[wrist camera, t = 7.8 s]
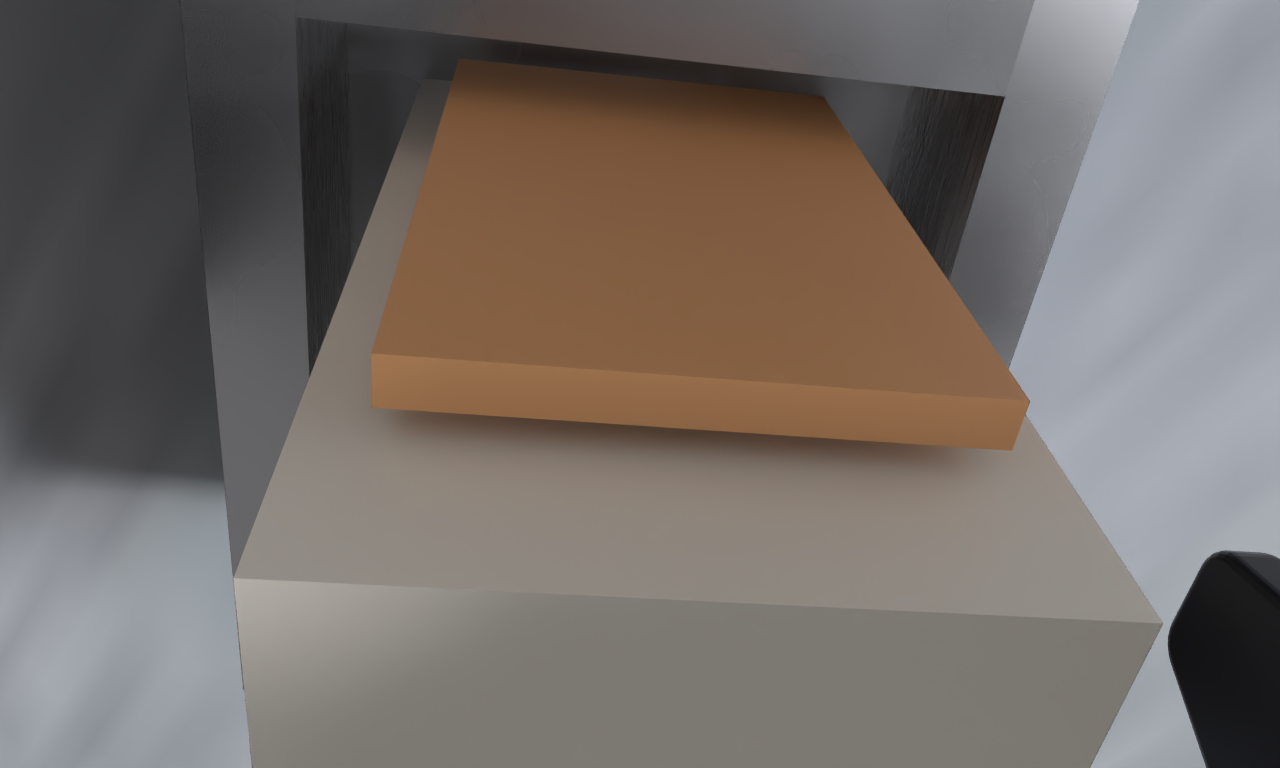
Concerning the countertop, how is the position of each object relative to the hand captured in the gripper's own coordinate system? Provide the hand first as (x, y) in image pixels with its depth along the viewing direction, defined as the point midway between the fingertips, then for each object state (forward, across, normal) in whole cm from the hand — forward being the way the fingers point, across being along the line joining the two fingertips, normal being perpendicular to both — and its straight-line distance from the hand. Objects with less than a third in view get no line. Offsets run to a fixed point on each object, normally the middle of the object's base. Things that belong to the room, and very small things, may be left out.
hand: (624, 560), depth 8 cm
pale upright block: (+4, 0, 0) cm, 4 cm away
